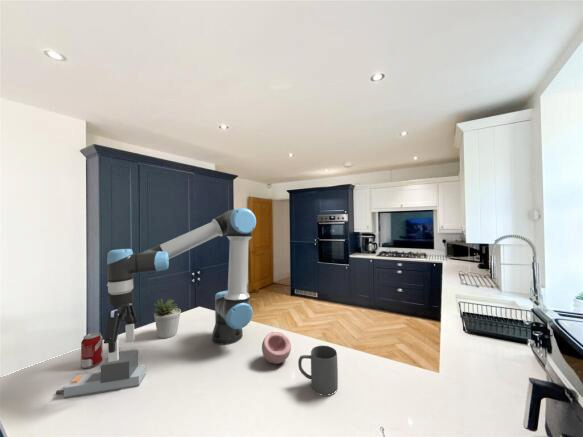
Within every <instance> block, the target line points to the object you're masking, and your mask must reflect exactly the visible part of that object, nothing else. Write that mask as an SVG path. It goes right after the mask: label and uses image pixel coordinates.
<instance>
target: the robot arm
mask: <svg viewBox="0 0 583 437" xmlns="http://www.w3.org/2000/svg"><path fill="white" fill-rule="evenodd" d="M256 225H257V218H256V216H255V214H254V212H253V210H250V209H249V208H246V207H245V208H244V207H237V208H234V209H230V210H228V211H226V212H224V213H223V214H221V215H218V216H217V217H214V218H213V219H212V220H211V222H208V223H207V224H204V225H202V226H200V227H197V228H194V229H193V230H190V231H188V232H186V233H183V234H181V235H179V236H176V237H175V238H173V239H170V240H168V241H166V242H164V243H161V244H159V245H157V246H154V247H152V248H149V249H146V250H144V251H142V252H139V253H134V252H133V249H132V248H120V249H119V248H118V249H112V250H111V249H110V251H109V252H107V258H106V259H107V260H106V261H107V263H106V265H107V266H106V267H107V269H106V270H107V283H106V287H107V291H108V295H107V298H108V299H107V301H108V302H107V304H108V305H109V306H112V307H113V310H110V311H109V310H108V314H107V323H106V327H105V334H104V338H103V344H107V358H108V362H111V361H118V359H119V352H120V351H119V339H118V336H119V334H120V333H119V332H120V328H121V325H122V322H124V321H125V323H126V324H125V343H131V342H134V341H135V324H136V323H137V322H138V320H137V314H136V311H135V307H134V303H133V302H134V299H135V298H134V290H133V289H134V275H136V274H140V273H141V274H143V273H152V272H161V271H166V270H168V268H169V265H170V262H169V261H170V259H172V258H174V257H177V256H178V255H181V254H183V253H185V252H187V251H189V250H192V249H193V248H196V247H197V246H200V245H202V244H204V243H206V242H207V241H210V240H212V239H214V238H217V237H223V236H225V235H226V238H228V240H229V255H228V256H229V258H228V277H227V290H223V291H219V292H217V293H216V294H215V295H214V297H215V298H214V301H215V302H214V307H215V308H214V311H215V312H214V314H215V318H214V319H215V322H214V327H213V330H212V333H211V342H213V343H214V344H217V345H229V344H233V343H236V342H238V341H240V340H241V339H242V338H243V336H244V334H243V333H244V332H243V328H245V327H246V326H248V325H249V324H250V322H251V321H252V319H253V315H254V312H253V307H252V306H251V305H250V302H251V301H250V300H251V299H250V298H251V296H250V294H249V293H248V267H249V266H248V264H249V263H248V262H249V241H250V240H251V239H252V238H253V231H254V229H255V228H256Z"/></svg>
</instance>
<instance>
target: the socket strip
mask: <svg viewBox="0 0 583 437" xmlns="http://www.w3.org/2000/svg"><path fill="white" fill-rule="evenodd" d="M146 368H147V367H146V364H142V365H138V366H137V368H136V369H135V371H134V372H133V374H132V375H131V377H130V378H129V379H125V380H118V381H112V382H106V383H100V376H101V371H97V372H87V373H84V374H77V375H75V377H73V378H72V379H71V380H70V381H69V383H67V384H66V385H65V386H64V387H63V389H60V390H56V391H55V394H56V395H59V394H63V399H70V398H76V397H82V396H88V395H96V394H100V393H107V392H113V391H118V390H124V389H129V388H130V389H131V388H135V387H136V388H137V387H139V386H140V385H141V383H142V382H143V380H144V378H145V376H146V375H147V373H146V372H147V370H146Z"/></svg>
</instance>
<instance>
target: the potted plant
mask: <svg viewBox="0 0 583 437" xmlns="http://www.w3.org/2000/svg"><path fill="white" fill-rule="evenodd" d="M173 301H175V300H174V299H171V298H170V300H166V302H165V303H164V304H163V299H160V301H159V299H158V298H157V302H156V303H154V305H155V307H156V308H154V310H155V312H153V317H154V322H155V327H156V332H157V337H158V338H159V339H168V338H169V339H170V338H172V337H174V336H176V335H177V333H178V330H179V325H180V324H179V323H180V319H181V312H182V310H181V309H180V308H178V307H180V305H179V306H178V305H175V303H173ZM172 303H173V304H172ZM149 313H151V314H152V312H151V311H150V312H149Z"/></svg>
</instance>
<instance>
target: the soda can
mask: <svg viewBox="0 0 583 437" xmlns="http://www.w3.org/2000/svg"><path fill="white" fill-rule="evenodd" d="M82 338H83V339H82V340H81V343H80V345H81V346H80V349H81V351H80V367H81V368H83V369H91V368H95V367H96V366H98V365H99V364H100V363H101V364H102V363H103V349H104V348H103V344H104V338H103V336H102V334H101V332H100V331H99V332H91V333H88V334H86V335H84V336H83V337H82Z"/></svg>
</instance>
